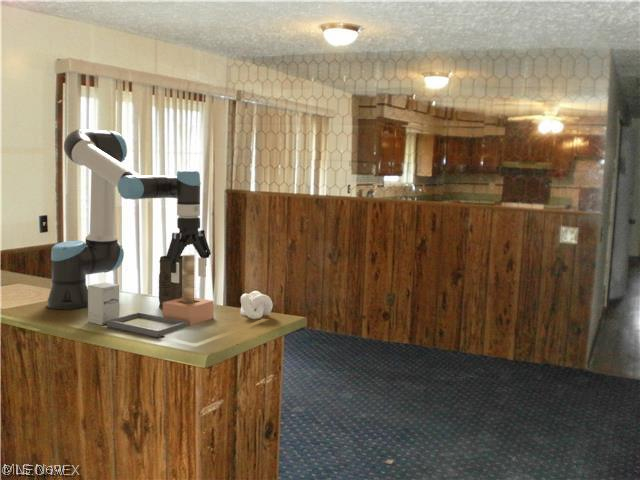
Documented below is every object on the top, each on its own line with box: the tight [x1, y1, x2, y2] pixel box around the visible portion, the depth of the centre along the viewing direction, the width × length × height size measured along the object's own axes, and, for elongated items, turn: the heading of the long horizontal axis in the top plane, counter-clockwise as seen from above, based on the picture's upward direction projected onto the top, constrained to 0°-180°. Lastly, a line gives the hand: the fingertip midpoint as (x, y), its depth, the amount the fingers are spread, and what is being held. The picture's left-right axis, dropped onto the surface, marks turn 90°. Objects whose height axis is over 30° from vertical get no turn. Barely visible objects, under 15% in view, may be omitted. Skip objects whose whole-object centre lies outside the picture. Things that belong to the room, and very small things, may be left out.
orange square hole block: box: [162, 297, 215, 326], centre depth 216 cm, size 12×12×7 cm
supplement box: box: [87, 282, 120, 326], centre depth 213 cm, size 7×7×13 cm
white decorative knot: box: [240, 290, 274, 320], centre depth 223 cm, size 11×12×9 cm
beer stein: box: [158, 255, 183, 310], centre depth 235 cm, size 15×11×20 cm
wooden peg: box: [182, 253, 196, 305], centre depth 215 cm, size 4×4×22 cm
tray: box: [106, 311, 189, 340], centre depth 207 cm, size 22×14×2 cm, turn 61°
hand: (189, 279), depth 214 cm, fingers open, 13 cm apart
